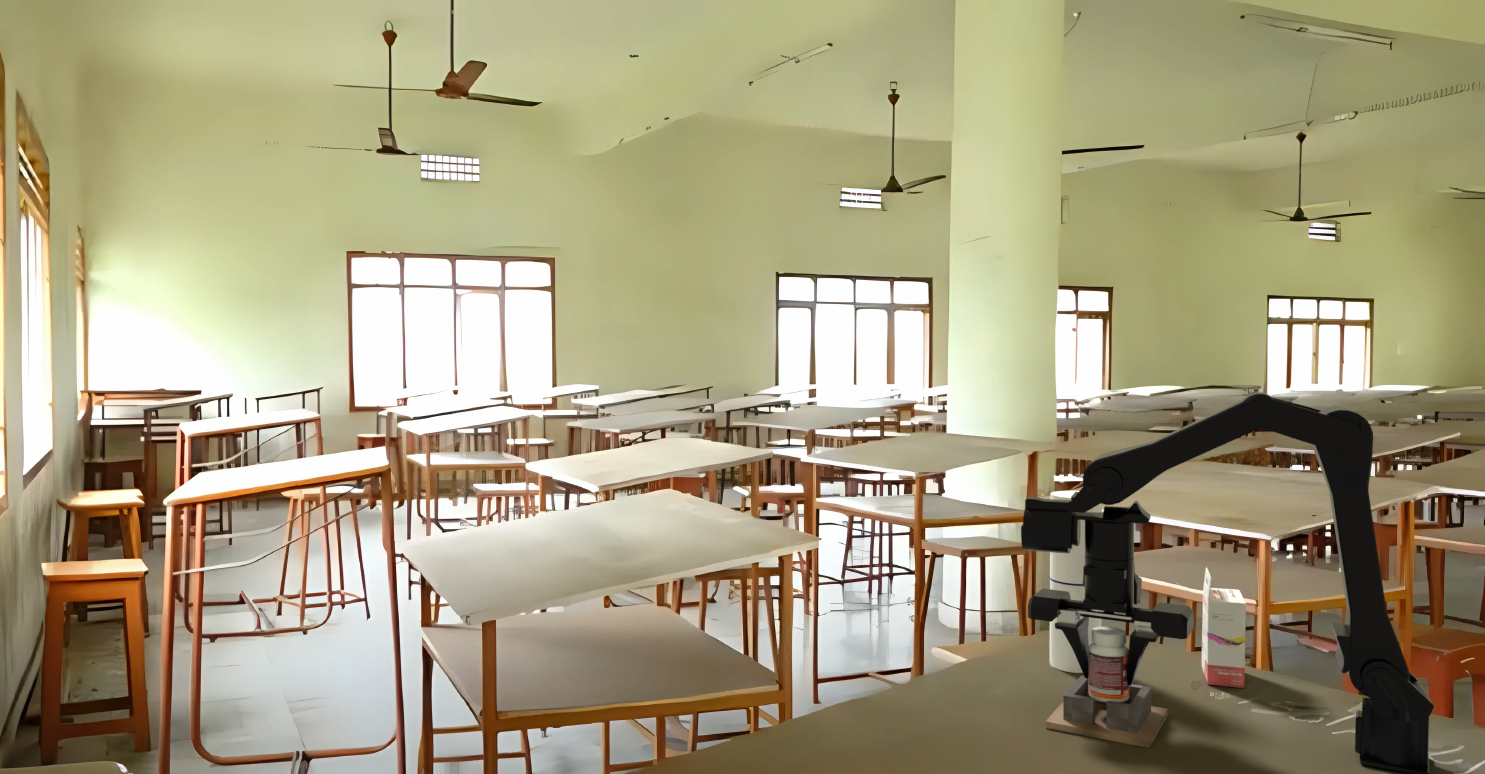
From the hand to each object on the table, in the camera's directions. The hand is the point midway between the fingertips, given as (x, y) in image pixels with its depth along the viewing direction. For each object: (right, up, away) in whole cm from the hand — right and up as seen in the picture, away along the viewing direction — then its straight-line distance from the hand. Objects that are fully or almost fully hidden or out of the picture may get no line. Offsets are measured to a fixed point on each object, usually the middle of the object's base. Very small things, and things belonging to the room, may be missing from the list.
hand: (1108, 680), depth 126 cm
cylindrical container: (+3, -4, +22) cm, 23 cm away
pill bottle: (0, -2, 0) cm, 2 cm away
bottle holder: (0, -5, 0) cm, 5 cm away
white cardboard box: (+22, -4, +16) cm, 27 cm away
